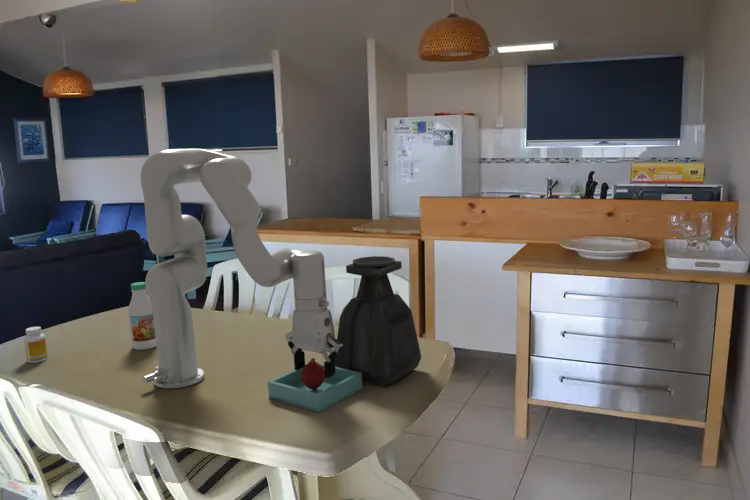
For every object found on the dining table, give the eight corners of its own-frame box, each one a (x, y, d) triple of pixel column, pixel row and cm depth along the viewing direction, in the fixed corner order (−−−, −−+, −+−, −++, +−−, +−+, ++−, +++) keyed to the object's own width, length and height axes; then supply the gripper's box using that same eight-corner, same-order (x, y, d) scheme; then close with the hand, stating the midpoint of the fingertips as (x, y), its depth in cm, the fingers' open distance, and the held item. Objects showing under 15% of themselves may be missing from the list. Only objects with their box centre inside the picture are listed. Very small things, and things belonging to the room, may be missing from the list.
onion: (321, 395, 146) (319, 363, 145) (298, 394, 148) (296, 362, 146) (329, 385, 152) (327, 354, 151) (307, 384, 153) (304, 354, 152)
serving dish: (319, 412, 139) (318, 395, 138) (268, 397, 148) (267, 381, 147) (362, 388, 151) (361, 372, 151) (313, 376, 161) (312, 361, 160)
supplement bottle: (52, 358, 183) (47, 326, 182) (35, 364, 179) (30, 331, 177) (39, 356, 186) (35, 324, 184) (23, 362, 181) (18, 330, 179)
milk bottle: (126, 349, 189) (119, 285, 185) (144, 341, 196) (137, 279, 192) (146, 351, 186) (139, 286, 182) (164, 343, 193) (157, 281, 189)
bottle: (331, 377, 159) (325, 263, 154) (368, 358, 172) (363, 252, 167) (390, 391, 149) (385, 269, 144) (424, 369, 162) (421, 257, 157)
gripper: (349, 304, 144) (352, 374, 147) (294, 295, 154) (299, 361, 157) (328, 311, 138) (332, 384, 141) (273, 302, 148) (278, 370, 151)
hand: (314, 372), depth 149 cm, fingers open, 9 cm apart
